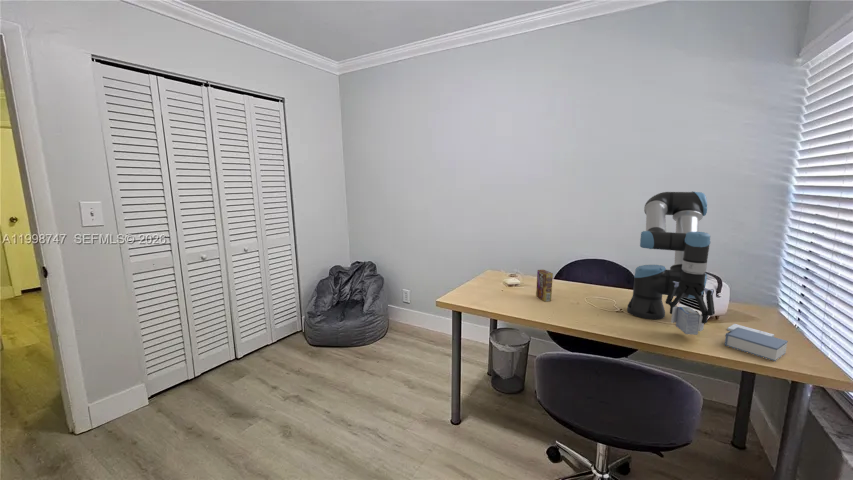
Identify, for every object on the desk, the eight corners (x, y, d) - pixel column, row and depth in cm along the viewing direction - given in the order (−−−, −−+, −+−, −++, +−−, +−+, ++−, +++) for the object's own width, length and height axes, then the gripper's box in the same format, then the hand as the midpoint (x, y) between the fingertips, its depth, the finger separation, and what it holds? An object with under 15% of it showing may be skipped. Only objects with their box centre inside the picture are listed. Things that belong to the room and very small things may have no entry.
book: (724, 345, 130) (726, 333, 129) (736, 339, 136) (737, 327, 135) (774, 362, 118) (777, 348, 117) (785, 353, 124) (787, 341, 123)
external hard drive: (734, 327, 148) (774, 337, 137) (727, 331, 144) (767, 342, 133) (735, 323, 148) (774, 333, 137) (727, 327, 143) (767, 338, 133)
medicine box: (698, 335, 133) (700, 314, 131) (685, 334, 134) (687, 313, 132) (687, 326, 141) (689, 306, 139) (675, 325, 142) (677, 306, 140)
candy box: (551, 301, 181) (553, 273, 178) (544, 301, 180) (545, 273, 177) (542, 295, 189) (544, 269, 187) (535, 296, 188) (536, 269, 186)
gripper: (658, 267, 140) (653, 319, 144) (723, 280, 122) (715, 338, 126) (668, 264, 144) (662, 315, 148) (732, 276, 126) (723, 333, 130)
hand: (686, 325), depth 137 cm, fingers closed on medicine box, 9 cm apart
